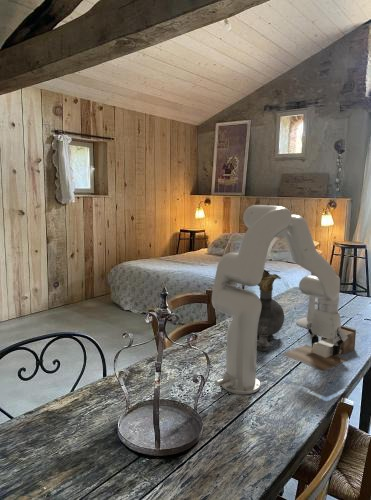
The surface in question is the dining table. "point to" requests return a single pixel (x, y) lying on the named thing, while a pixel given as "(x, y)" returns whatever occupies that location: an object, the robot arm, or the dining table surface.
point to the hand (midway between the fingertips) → (324, 350)
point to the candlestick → (311, 309)
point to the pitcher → (269, 306)
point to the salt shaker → (263, 339)
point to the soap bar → (324, 347)
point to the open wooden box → (321, 362)
